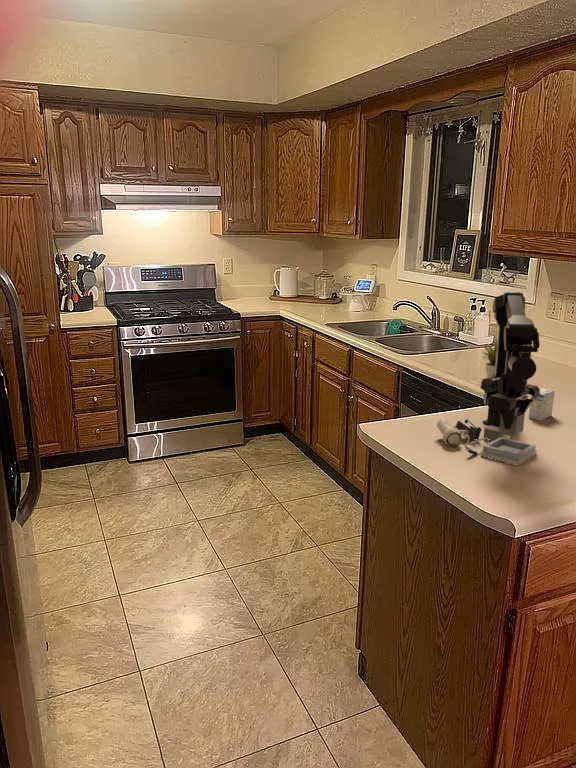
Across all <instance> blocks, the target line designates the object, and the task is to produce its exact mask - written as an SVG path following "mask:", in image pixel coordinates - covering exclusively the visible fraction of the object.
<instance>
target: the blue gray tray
mask: <svg viewBox="0 0 576 768" xmlns="http://www.w3.org/2000/svg"><path fill="white" fill-rule="evenodd" d="M536 447H537V445H535V444H531V443H526V442H523V441H518V440H514V439H511V438H510V439H507V438H503V437H499V438H498V439H496V440H494V441H489V443H488V444H487V443H486V444H484V445H483V447H482V450H483V451H482V450H481V451H482V452H481V453H480V457H482V456H485V457H489V458H492V459H491V460H493V459H496V460H499V461H498V462H500V461H502V462H501V463H503V462H505V463H504V464H507V463H508V465H510V464H512V465H511V466H514V465H515V467H518V466H520V465H521V464H522V462H523V463H524V462H526V461H528V460H529V459H531V458H533V456H535V455H537V452H538V450H537V449H536ZM485 457H484V458H485ZM489 458H488V459H489ZM496 460H495V461H496ZM517 465H518V466H517Z"/></svg>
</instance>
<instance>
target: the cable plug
mask: <svg viewBox="0 0 576 768" xmlns="http://www.w3.org/2000/svg"><path fill="white" fill-rule="evenodd" d="M499 430H500V427H497V426H493V425H488V426H486V427H484V429H483V431H484V432H483V438H488V439H490V440H493V441H494V440H496V439H498V438H499V437H503V438H507V439H511V435H507V433H504V432H500V431H499ZM490 440H489V441H490Z"/></svg>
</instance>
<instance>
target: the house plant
mask: <svg viewBox="0 0 576 768" xmlns="http://www.w3.org/2000/svg"><path fill="white" fill-rule="evenodd" d="M482 347H483V349H484V350H485V351H486V352H485V351H484V352H482V354H484V355H483V356H481V358H482V360H488V361H489V362H486V363H485V374H486V378H491V377H492V375H493V374H494V373H495V363H496V352H497V339H495V341H494V347H492V345H491V344H490V343H488V342H486V344H482Z"/></svg>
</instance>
